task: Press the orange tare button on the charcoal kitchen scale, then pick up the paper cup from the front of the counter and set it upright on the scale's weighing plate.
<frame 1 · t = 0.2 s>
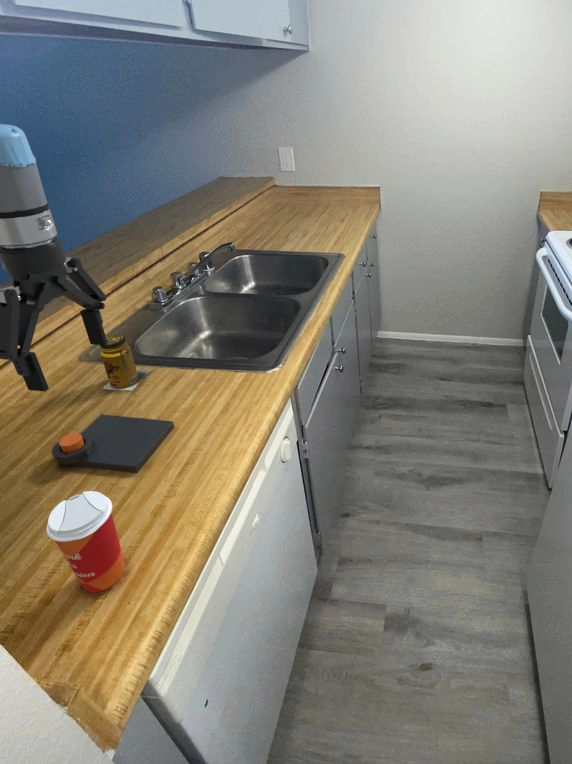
hand: (71, 365, 77), 24 cm above the worktop, tool pointing down, fingers open, 13 cm apart
condiment: (127, 380, 115), on the worktop
tare button: (71, 442, 90), point 4 cm above the worktop, slide at 0.1 cm
paper cup: (104, 575, 71), on the worktop
scale: (119, 445, 95), on the worktop
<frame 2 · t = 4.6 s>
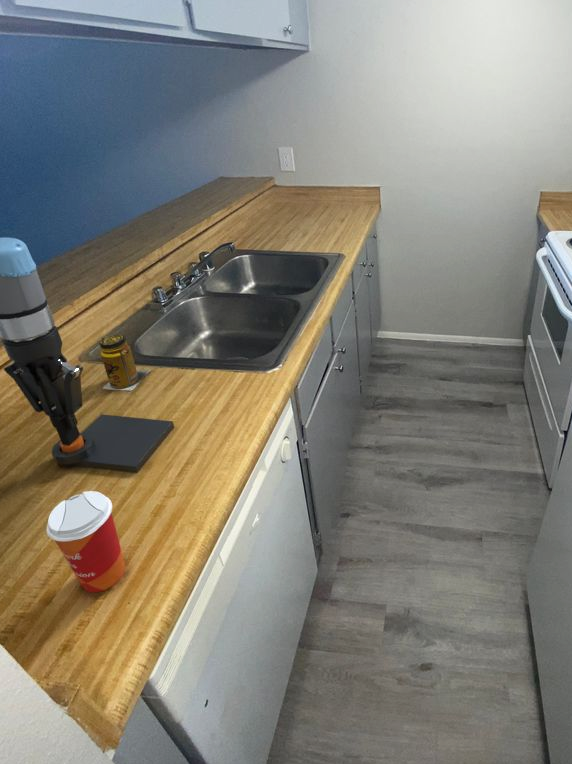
hand: (71, 439, 89), 5 cm above the worktop, tool pointing down, fingers closed
tare button: (72, 444, 90), point 4 cm above the worktop, slide at -0.2 cm, touching gripper
everything else where it was.
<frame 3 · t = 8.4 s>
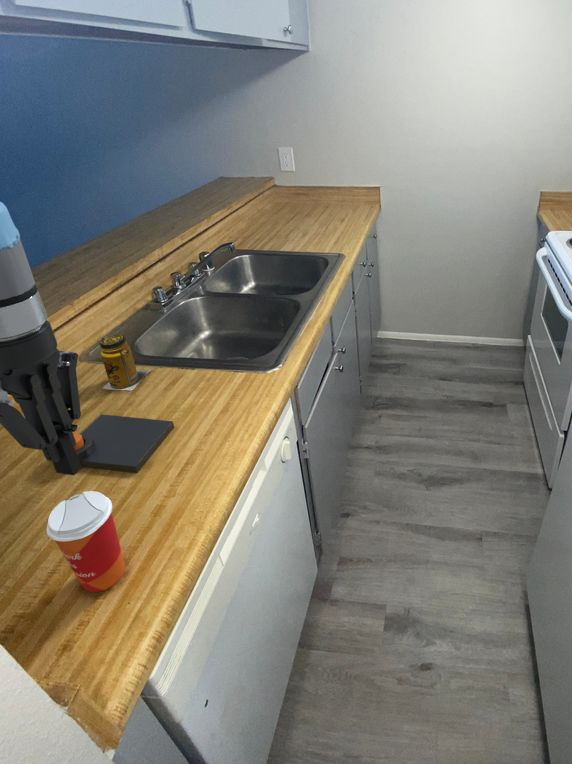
hand: (69, 470, 68), 16 cm above the worktop, tool pointing down, fingers closed
tare button: (71, 442, 90), point 4 cm above the worktop, slide at 0.1 cm
everything else where it was.
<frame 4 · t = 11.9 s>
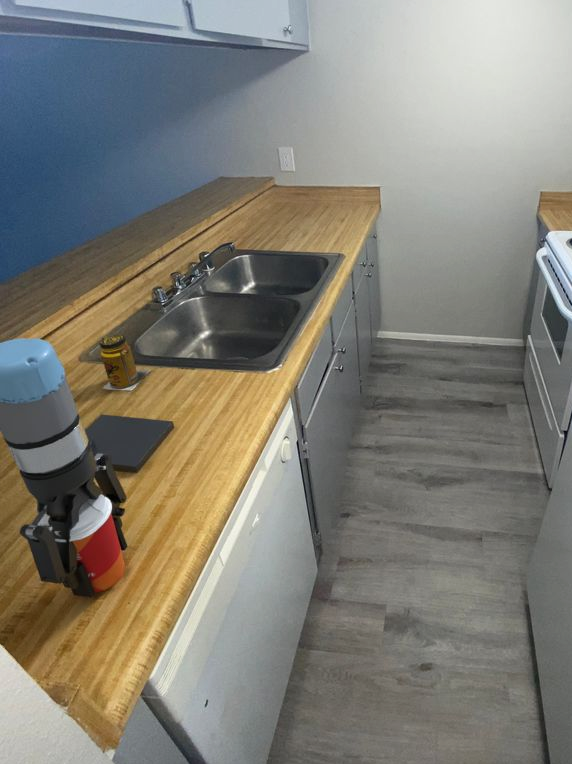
hand: (102, 569, 70), 1 cm above the worktop, tool pointing down, fingers closed on paper cup, 7 cm apart
paper cup: (104, 575, 71), on the worktop, touching gripper
everything else where it was.
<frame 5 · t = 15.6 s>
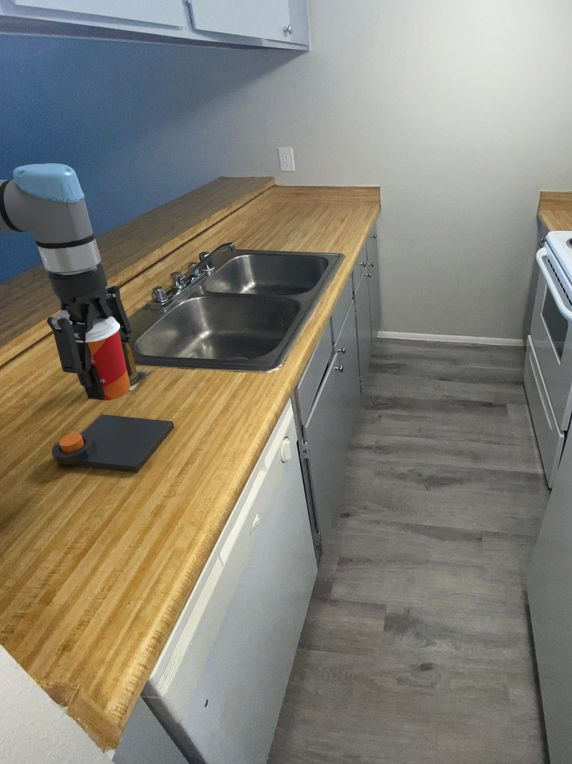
hand: (111, 385, 85), 17 cm above the worktop, tool pointing down, fingers closed on paper cup, 7 cm apart
paper cup: (113, 392, 86), point 15 cm above the worktop, touching gripper
everything else where it was.
when the fingers open (3 cm above the worktop, at t = 19.4 s): paper cup stays where it is, resting on scale.
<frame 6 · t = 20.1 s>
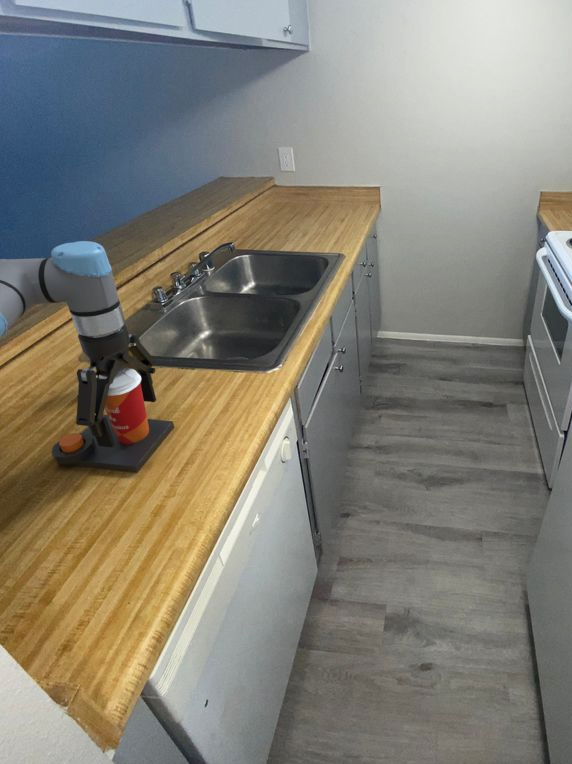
hand: (129, 421, 94), 5 cm above the worktop, tool pointing down, fingers open, 13 cm apart
paper cup: (134, 435, 95), point 2 cm above the worktop, touching scale
everything else where it was.
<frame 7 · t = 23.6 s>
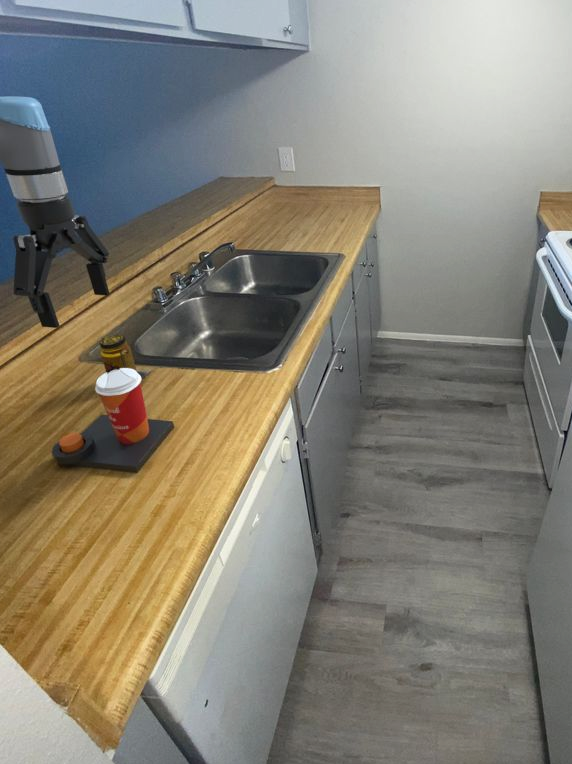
hand: (78, 309, 89), 27 cm above the worktop, tool pointing down, fingers open, 13 cm apart
nothing on the worktop moved.
at the end: tare button pushed in 1.0 cm at the most during the clip, back to where it started at the end; paper cup inside the target area on the scale (0.1 cm from its centre), point 1.5 cm above the scale's base; paper cup tilted 0° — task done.
